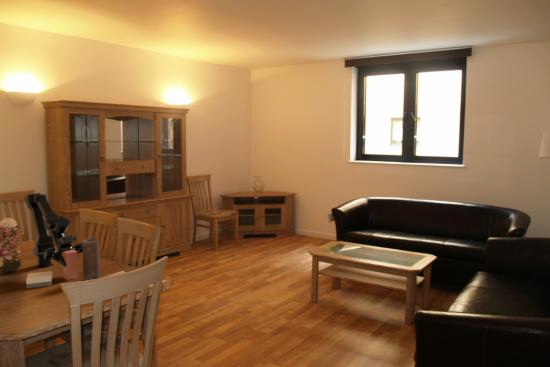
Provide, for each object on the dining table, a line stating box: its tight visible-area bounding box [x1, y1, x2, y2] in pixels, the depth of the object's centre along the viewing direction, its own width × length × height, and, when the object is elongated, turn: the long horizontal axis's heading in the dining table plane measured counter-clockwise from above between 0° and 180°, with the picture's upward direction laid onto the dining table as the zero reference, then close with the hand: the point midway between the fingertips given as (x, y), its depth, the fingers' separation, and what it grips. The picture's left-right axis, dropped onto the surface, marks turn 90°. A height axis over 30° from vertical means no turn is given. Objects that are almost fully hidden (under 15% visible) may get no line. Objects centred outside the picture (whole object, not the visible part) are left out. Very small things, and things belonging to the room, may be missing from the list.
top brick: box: [61, 250, 79, 281], centre depth 217 cm, size 5×5×13 cm
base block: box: [25, 270, 53, 289], centre depth 209 cm, size 10×10×4 cm
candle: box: [81, 237, 101, 281], centre depth 213 cm, size 8×7×20 cm
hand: (71, 265), depth 216 cm, fingers closed on top brick, 5 cm apart
